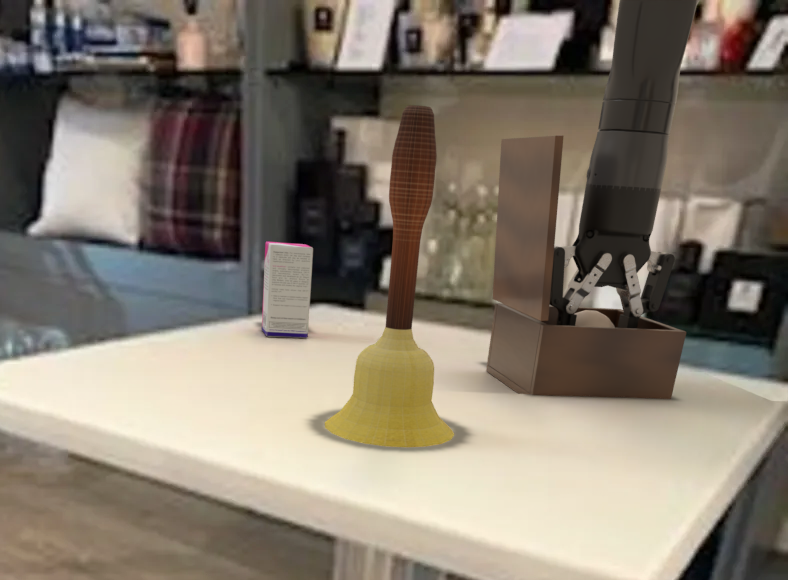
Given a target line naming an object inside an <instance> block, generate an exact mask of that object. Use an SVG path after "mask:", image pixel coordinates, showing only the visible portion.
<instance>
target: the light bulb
mask: <svg viewBox="0 0 788 580" xmlns="http://www.w3.org/2000/svg"><path fill="white" fill-rule="evenodd" d="M575 314H576V315H577V318H576V324H575V326H589V327H613V328H615V326H614V325H613V323H612V322H611V321H610V319H609V318H608V317H607V316H605V315H604V314H602V313H600V312H598V311H593V310H584V311H581V312H578V313H575Z"/></svg>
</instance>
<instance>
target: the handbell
mask: <svg viewBox="0 0 788 580" xmlns="http://www.w3.org/2000/svg"><path fill="white" fill-rule="evenodd" d="M435 125H436V124H435V113H434V110H433V108H432V107H431V106H426V105H414V104H413V105H411V104H410V105H409V104H408V105H407V106H405V108H403V111H402V113H401V118H400V122H399V125H398V130H397V135H396V137H395V141H394V145H393V150H392V154H391V166H390V176H389V189H388V202H389V207H390V208H389V209H390V215H391V219H392V247H391V257H390V268H389V269H390V270H389V282H388V293H387V305H386V315H385V316H386V317H385V327H384V330H383V332H382V335H381V337H379V339H377V341H376V342H375V343H374V344H370V345H368V346H367V347H365V348H364V349H363V350H361V352H360V353H358V355H357V358H356V360H355V361H356V362H355V367H354V368H355V369H354V375H353V387H352V388H353V389H352V394H351V396H350V398H349V399H348V401H346V403H345V404H344V405H343V407H341V409H340V410H339V411H337V412H336V413H334V414H333V415H331V417H329V418H328V419H327V420H326V421H324V429H326V430H327V431H328V432H329V433H331V434H333V435H334V436H337V437H339V438H341V439H342V438H343V439H344V440H348V441H352V442H356V443H361V444H366V445H371V446H379V447H380V446H381V447H387V448H388V447H389V448H424V447H425V448H427V447H431V446H437V445H442V444H444V443H448V442H449V441H452V439H453V438H454V436H455V432H454V431H453V429H452V428H451V427H450V426H449V425H448V424H447V423H446V422H445V421H444V420H443V419H442V418H441V417H440V415H439V413H438V412H437V410H436V408H435V406H434V403H433V393H434V385H435V364H434V361H433V359H432V358H431V355H430V354H429V353H428V352H427V351H426V350H425V349H423V348H421V347H419V346H418V344H417V343H416V340H415V339H414V334H413V320H414V319H413V317H414V310H415V298H416V289H417V281H418V279H417V278H418V269H419V257H420V249H421V239H422V233H423V230H424V229H423V228H424V225H425V221H426V219H427V217H428V215H429V211H430V209H431V206H432V202H433V198H434V197H433V196H434V190H435V178H436V167H437V166H436V165H437V157H438V156H437V142H436V127H435Z"/></svg>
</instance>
